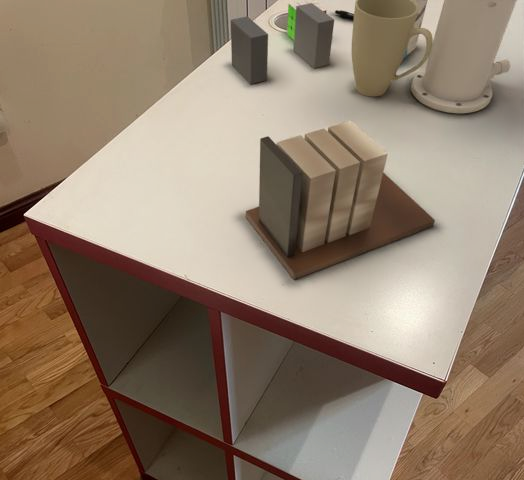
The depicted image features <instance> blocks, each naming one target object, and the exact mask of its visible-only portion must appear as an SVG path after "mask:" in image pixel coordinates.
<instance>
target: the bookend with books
mask: <svg viewBox="0 0 524 480" xmlns="http://www.w3.org/2000/svg"><path fill="white" fill-rule="evenodd" d="M388 155H389V154H388V152H387V151H386V150H384V148H383V147H382V146H380V145H379V144H378V143H376V141H374V140H373V138H371V137H370V136H368V134H367V133H365V131H363V130H362V129H361V128H360V127H359V126H357V124H355V123H354V122H353V121H352V120H348V121H345V122H342V123H337V124H334V125H331V126H328V128H327V130H326V128H321V129H317V130H313V131H310V132H306V133H304V137H303V136H302V135H296V136H294V137H289V138H287V139H283V140H281V141H277V142H276V143H275V141H273V140H272V138H271V137H270V136H269V135H267V136H264V137H261V138H260V139H259V185H258V186H259V189H258V206H256V207H254V208H251V209H248V210H245V218H246V220H247V221H248V222H249V224H250V225H251V226H252V228H253V229H254V230H255V231H256V233H257V234H258V235H259V236H260V238H261V240H262V241H263V242H264V243H265V244H266V246H267V247H268V248H269V250H270V251H271V252H272V254H273V255H274V256H275V258H276V259H277V260H278V261H279V263H280V264H281V265H282V266H283V268H284V270H286V272H287V273H288V274H289V275H290V278H292V279H293V280H297V279H300V278H303V277H305V276H307V275H310V274H314V273H315V272H318V271H320V270H323V269H325V268H328V267H331V266H333V265H336V264H338V263H341V262H344V261H346V260H349V259H351V258H354V257H357V256H359V255H362V254H364V253H367V252H369V251H372V250H376V249H379V248H380V247H382V246H385V245H388V244H390V243H394V242H396V241H398V240H401V239H403V238H406V237H409V236H411V235H414V234H416V233H419V232H423V231H424V230H427V229H430V228H433V226H434V224H435V221H436V220H435V219H434V217H432V216H431V215H430V214H429V213H428V212H427V211H426V210H425V209H424V208H423V207H421V205H419V204H418V203H417V202H416V201H415V200H414V199H413V198H412V197H411V196H410V195H408V194H407V192H406V191H404V190H403V189H402V187H400V186H399V185H398V184H397V183H396V182H395V181H393V180H392V179H391V178H390V177H389V176H388V174H386V173H385V172H384V171H385V167H386V164H387V159H388Z"/></svg>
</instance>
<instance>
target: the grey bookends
mask: <svg viewBox="0 0 524 480" xmlns="http://www.w3.org/2000/svg"><path fill="white" fill-rule="evenodd" d="M334 26H335V18H333V17H332V16H330V15H329V14H328V13H327V12H326V13H325V12H323V11H322V10H321V9H319V8H318V7H317V6H315V5H314V4H312V3H309V4H304V5H300V6H296V19H295V34H294V40H293V49H292V50H293V53H295V54H296V55H298V56H299V57H300V58H301V59H302V60H303V61H304V62H306V63H307V64H308V66H310V67H311V68H312V69H318V68H321V67H326V66H329V65H330V60H331V51H332V44H333V43H332V42H333V35H334ZM230 45H231V47H230V48H231V50H230V51H231V66H232V67H233V68H234V69H235V70H236V71H237V72H238V73H239V74H240V75H241V76H242V77H243V79H245V81H247V82H248V83H249V84H250V85H255V84H258V83H262V82H266V81H268V56H269V54H268V52H269V33H268V32H267V31H266V30H264V29H263V28H261V26H259V25H258V24H257V23H256V22H255V21H254V20H253V19H251V18H250V17H249V16H243V17H236V18H233V19H230Z"/></svg>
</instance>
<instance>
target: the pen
mask: <svg viewBox="0 0 524 480" xmlns="http://www.w3.org/2000/svg"><path fill="white" fill-rule="evenodd" d="M334 13H335V14H336V15H338V16H339V17H340V18H343V19H347V20H353V21H354V12H353V13H352V12H349V11H346V10H338V9H336V10H334Z"/></svg>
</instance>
